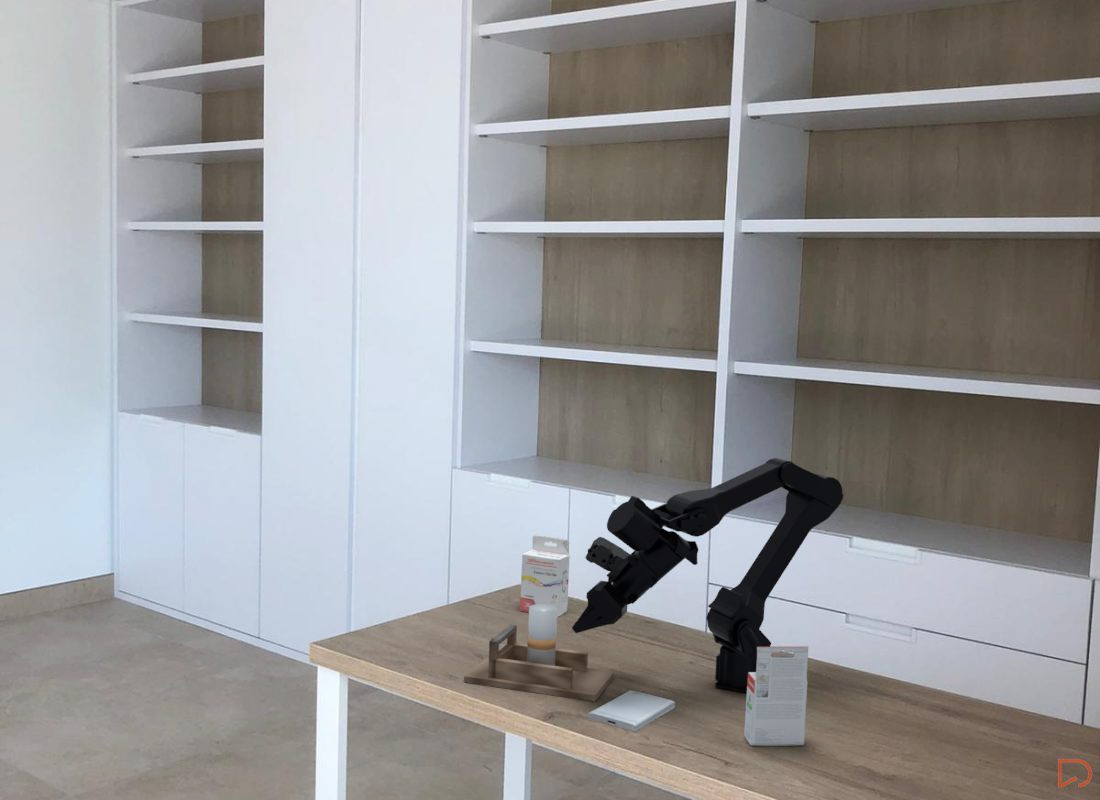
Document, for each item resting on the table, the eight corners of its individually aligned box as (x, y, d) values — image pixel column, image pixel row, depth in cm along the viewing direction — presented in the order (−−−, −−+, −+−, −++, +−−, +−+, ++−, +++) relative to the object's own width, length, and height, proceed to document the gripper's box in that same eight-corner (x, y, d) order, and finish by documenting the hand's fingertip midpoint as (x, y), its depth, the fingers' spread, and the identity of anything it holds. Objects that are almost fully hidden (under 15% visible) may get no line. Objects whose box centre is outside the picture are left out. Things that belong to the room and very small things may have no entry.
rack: (614, 677, 188) (615, 636, 188) (595, 701, 177) (596, 657, 176) (490, 660, 195) (491, 620, 194) (463, 682, 183) (465, 640, 183)
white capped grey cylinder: (559, 671, 187) (562, 606, 186) (548, 680, 183) (550, 613, 182) (533, 667, 189) (535, 602, 188) (521, 675, 184) (524, 609, 184)
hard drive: (629, 689, 180) (587, 711, 170) (675, 700, 175) (635, 724, 165) (629, 699, 180) (587, 722, 170) (675, 711, 175) (635, 735, 165)
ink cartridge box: (518, 611, 225) (521, 538, 224) (529, 605, 229) (531, 534, 228) (558, 618, 222) (561, 543, 220) (568, 611, 226) (571, 539, 225)
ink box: (743, 737, 165) (748, 638, 163) (796, 736, 165) (802, 639, 164) (750, 747, 161) (755, 646, 160) (804, 746, 162) (810, 647, 160)
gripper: (632, 513, 188) (567, 571, 193) (602, 535, 171) (530, 598, 175) (677, 564, 187) (610, 621, 191) (651, 592, 169) (578, 654, 174)
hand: (582, 622), depth 183 cm, fingers open, 9 cm apart
